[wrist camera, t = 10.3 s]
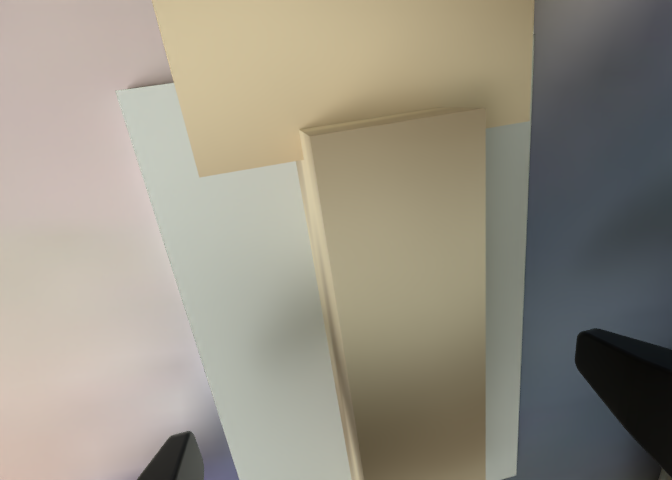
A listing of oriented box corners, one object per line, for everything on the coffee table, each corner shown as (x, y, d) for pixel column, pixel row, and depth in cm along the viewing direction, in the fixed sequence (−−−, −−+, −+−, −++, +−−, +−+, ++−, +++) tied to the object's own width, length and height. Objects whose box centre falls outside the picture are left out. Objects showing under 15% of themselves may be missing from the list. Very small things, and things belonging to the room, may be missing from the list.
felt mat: (509, 465, 14) (516, 475, 14) (262, 538, 13) (262, 551, 12) (523, 36, 9) (534, 33, 9) (121, 91, 8) (115, 91, 7)
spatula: (476, 468, 13) (548, 587, 10) (303, 519, 12) (319, 666, 9) (466, -399, 6) (696, -953, 3) (68, -409, 5) (-213, -1181, 2)
